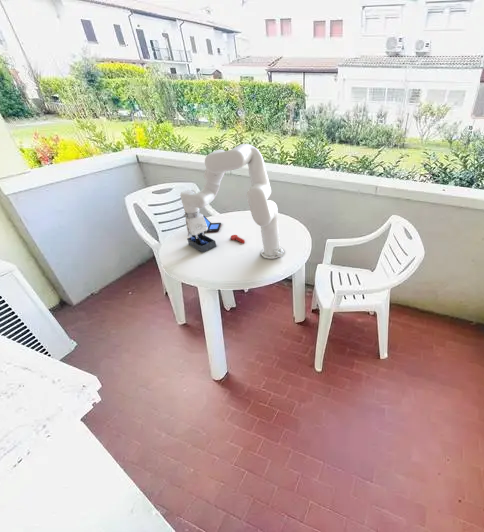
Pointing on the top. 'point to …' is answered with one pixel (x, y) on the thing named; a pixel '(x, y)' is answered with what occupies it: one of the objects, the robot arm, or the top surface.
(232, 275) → the top surface
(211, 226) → the handheld console
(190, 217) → the robot arm
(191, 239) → the blue spoon
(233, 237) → the red spoon
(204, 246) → the bin
